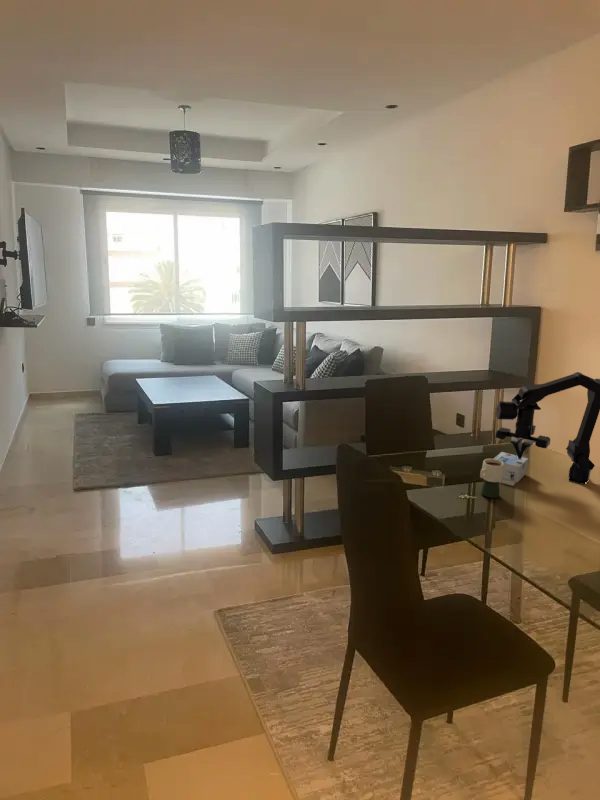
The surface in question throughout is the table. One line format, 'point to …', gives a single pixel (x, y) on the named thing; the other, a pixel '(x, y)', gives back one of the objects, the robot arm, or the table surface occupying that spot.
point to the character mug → (491, 477)
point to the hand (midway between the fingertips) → (519, 458)
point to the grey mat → (507, 482)
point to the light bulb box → (513, 466)
